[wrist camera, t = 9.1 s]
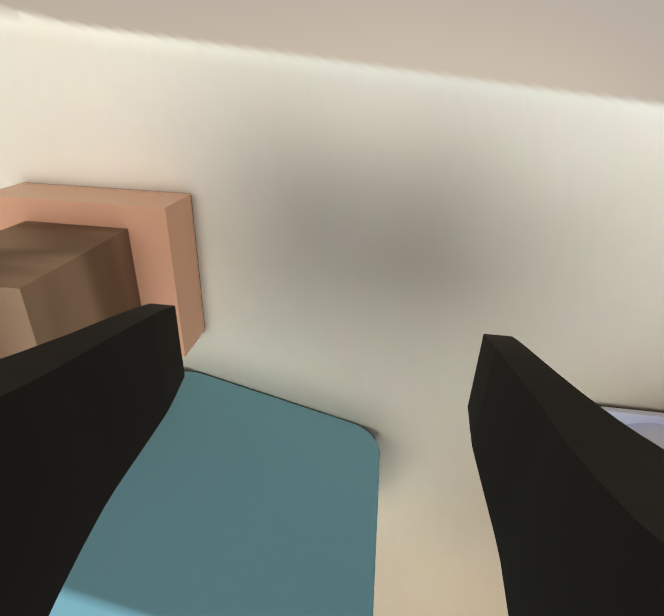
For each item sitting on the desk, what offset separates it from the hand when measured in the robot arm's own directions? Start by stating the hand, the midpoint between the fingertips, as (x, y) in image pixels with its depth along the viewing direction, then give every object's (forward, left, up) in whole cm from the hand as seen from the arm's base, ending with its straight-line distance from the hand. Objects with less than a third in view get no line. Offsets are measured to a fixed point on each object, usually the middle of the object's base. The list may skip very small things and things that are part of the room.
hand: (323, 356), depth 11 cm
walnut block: (+12, +2, -8) cm, 14 cm away
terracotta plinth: (+12, +3, -10) cm, 16 cm away
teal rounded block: (+4, +12, -11) cm, 17 cm away
